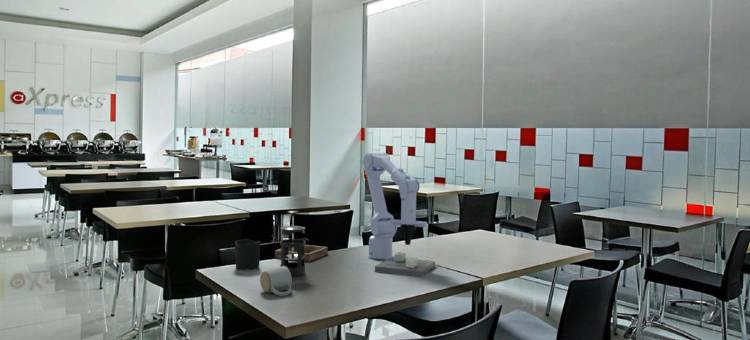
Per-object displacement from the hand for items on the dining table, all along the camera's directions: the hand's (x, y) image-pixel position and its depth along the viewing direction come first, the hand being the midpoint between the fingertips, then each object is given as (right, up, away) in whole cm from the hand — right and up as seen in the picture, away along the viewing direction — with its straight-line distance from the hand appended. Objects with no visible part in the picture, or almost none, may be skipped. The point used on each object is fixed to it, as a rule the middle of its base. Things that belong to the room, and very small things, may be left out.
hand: (407, 244), depth 217 cm
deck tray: (-43, -7, +16) cm, 47 cm away
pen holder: (-61, -8, -6) cm, 62 cm away
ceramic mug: (-44, -10, -39) cm, 59 cm away
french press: (-43, -9, -15) cm, 46 cm away
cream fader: (+1, -7, -10) cm, 12 cm away
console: (-1, -9, -5) cm, 10 cm away
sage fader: (-3, -6, 0) cm, 7 cm away
